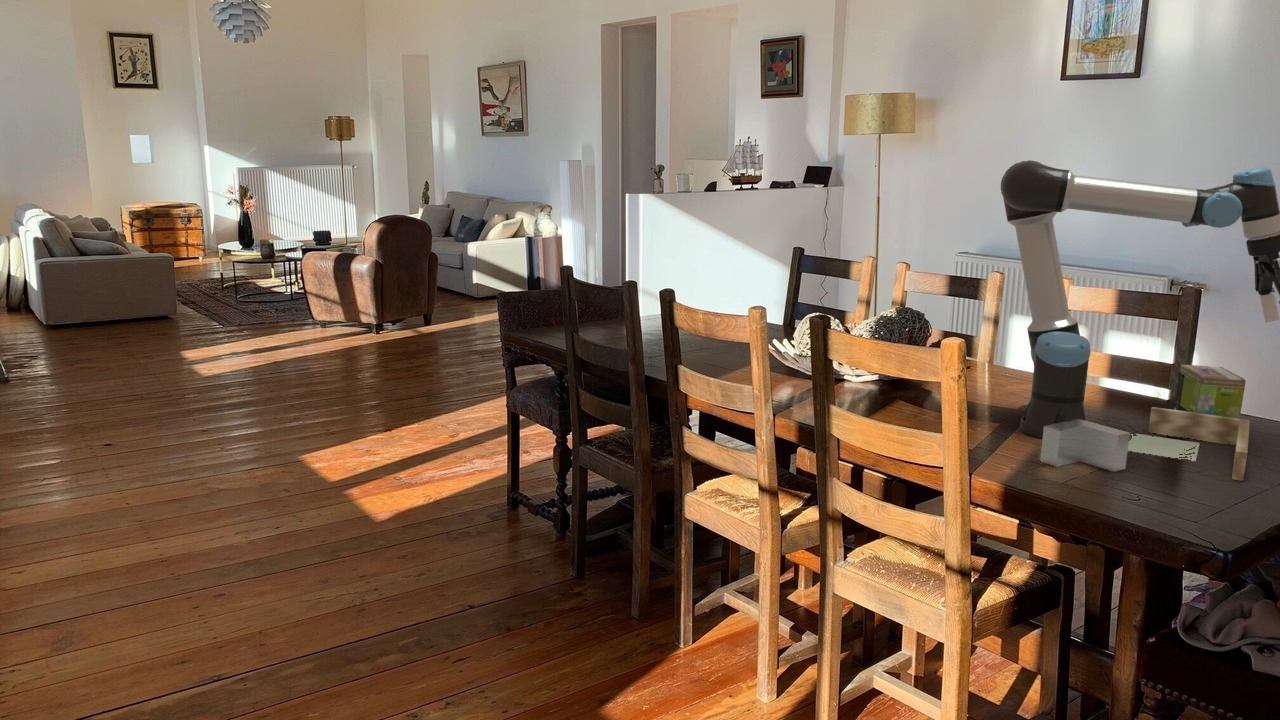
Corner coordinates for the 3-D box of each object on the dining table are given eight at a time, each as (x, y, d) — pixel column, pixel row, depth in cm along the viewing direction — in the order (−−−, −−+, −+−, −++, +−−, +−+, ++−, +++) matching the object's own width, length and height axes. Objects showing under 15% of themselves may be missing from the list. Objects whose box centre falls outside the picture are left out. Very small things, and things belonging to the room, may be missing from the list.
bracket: (1125, 468, 206) (1129, 432, 204) (1089, 477, 200) (1094, 440, 198) (1075, 453, 216) (1079, 418, 214) (1040, 461, 210) (1043, 426, 208)
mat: (1114, 449, 219) (1114, 448, 219) (1123, 432, 233) (1123, 431, 232) (1195, 462, 211) (1195, 461, 211) (1199, 443, 224) (1199, 443, 224)
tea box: (1238, 440, 227) (1247, 379, 224) (1191, 437, 229) (1200, 376, 226) (1214, 422, 242) (1223, 365, 239) (1171, 420, 244) (1178, 362, 241)
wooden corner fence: (1135, 463, 209) (1138, 436, 208) (1149, 430, 234) (1152, 406, 233) (1243, 480, 199) (1247, 453, 198) (1245, 444, 224) (1249, 419, 222)
